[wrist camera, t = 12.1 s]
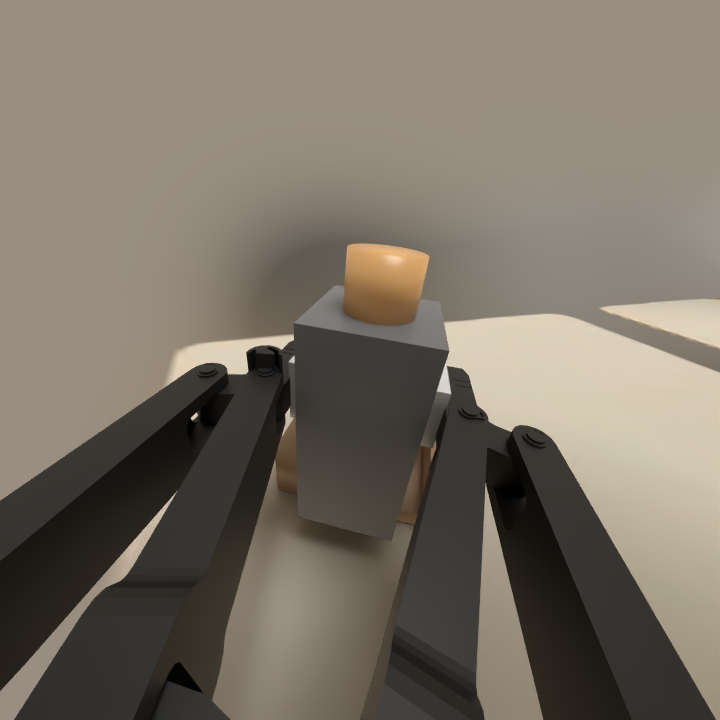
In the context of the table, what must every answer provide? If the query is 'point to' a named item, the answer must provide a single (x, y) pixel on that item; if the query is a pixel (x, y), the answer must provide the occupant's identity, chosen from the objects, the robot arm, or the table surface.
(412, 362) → the connector plug
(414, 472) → the holder
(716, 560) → the table surface
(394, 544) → the table surface
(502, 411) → the table surface
